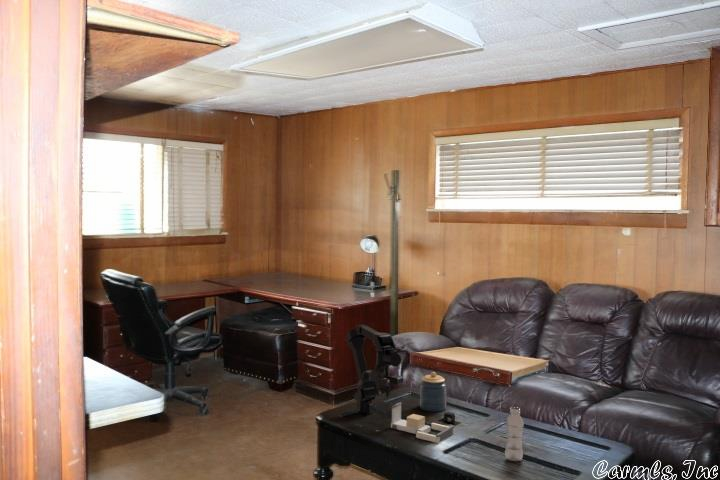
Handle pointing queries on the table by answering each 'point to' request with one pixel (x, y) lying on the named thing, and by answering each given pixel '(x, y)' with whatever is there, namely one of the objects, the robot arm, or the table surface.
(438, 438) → the bay
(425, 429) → the trolley
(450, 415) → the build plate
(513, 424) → the plastic bottle
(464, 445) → the table surface
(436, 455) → the table surface
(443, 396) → the canister
